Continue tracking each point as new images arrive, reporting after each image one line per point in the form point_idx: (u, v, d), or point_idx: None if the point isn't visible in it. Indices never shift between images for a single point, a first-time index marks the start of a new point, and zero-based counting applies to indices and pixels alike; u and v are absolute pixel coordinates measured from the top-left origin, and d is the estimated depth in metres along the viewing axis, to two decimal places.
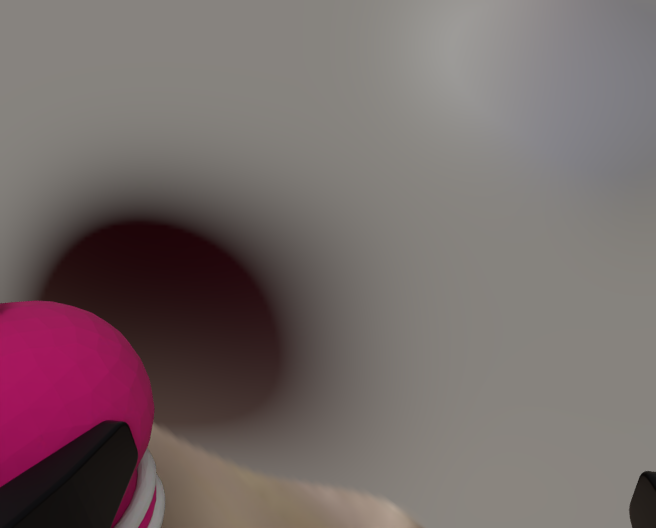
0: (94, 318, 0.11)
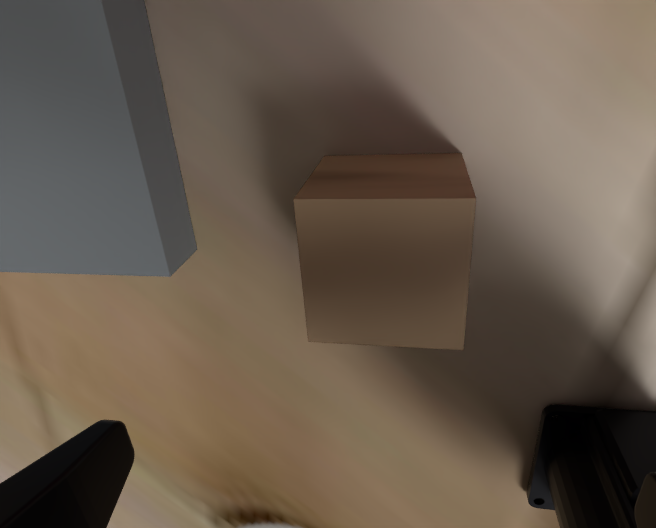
0: None
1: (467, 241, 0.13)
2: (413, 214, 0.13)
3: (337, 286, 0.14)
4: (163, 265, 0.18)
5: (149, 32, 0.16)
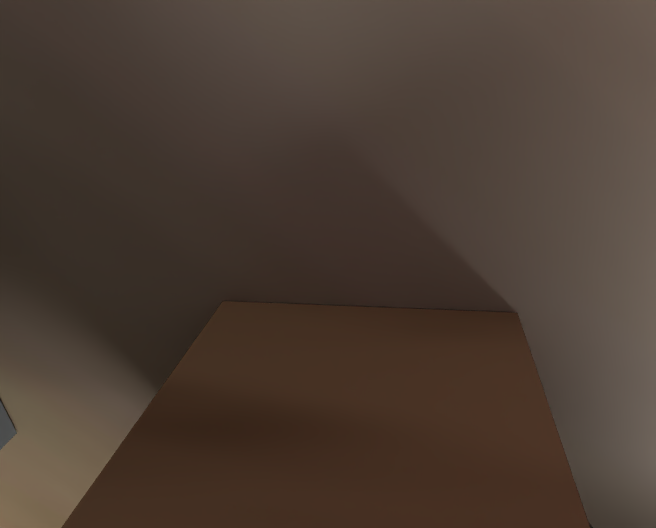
0: None
1: None
2: None
3: None
4: None
5: None
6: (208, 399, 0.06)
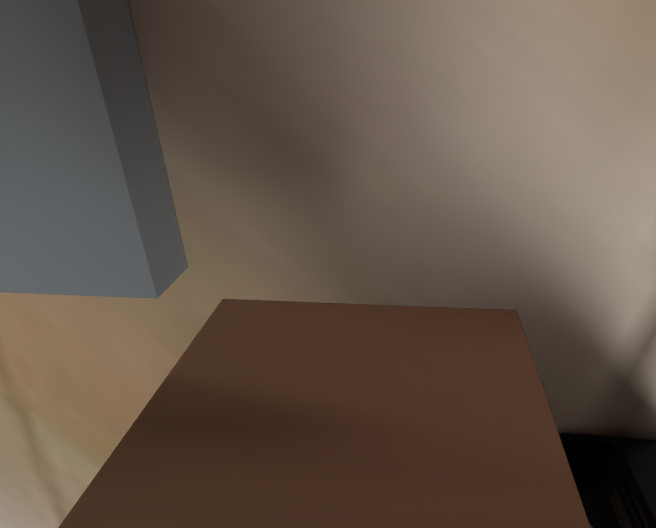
0: None
1: None
2: None
3: None
4: (150, 286, 0.17)
5: (135, 38, 0.15)
6: (208, 396, 0.06)
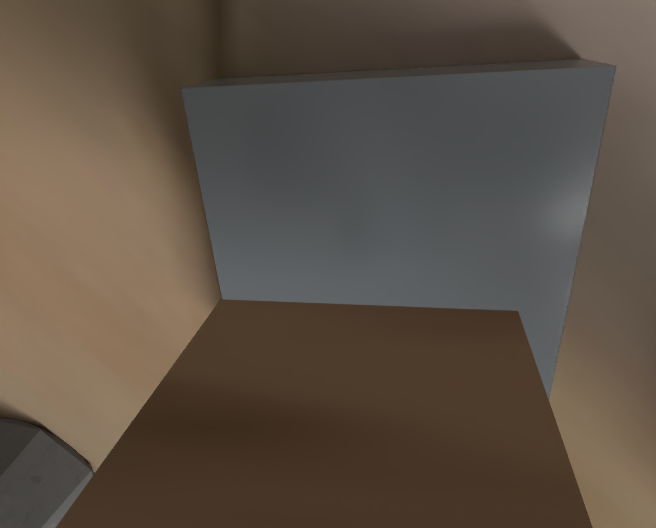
0: None
1: None
2: None
3: None
4: None
5: None
6: (205, 398, 0.06)
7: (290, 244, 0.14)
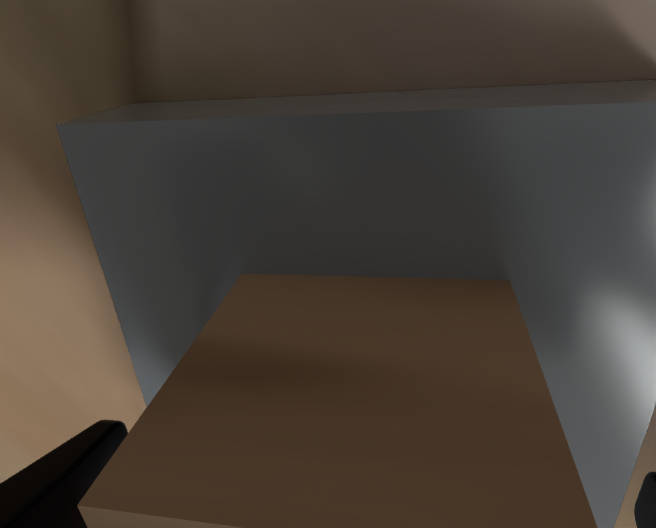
0: None
1: None
2: None
3: None
4: None
5: None
6: (235, 351, 0.07)
7: None
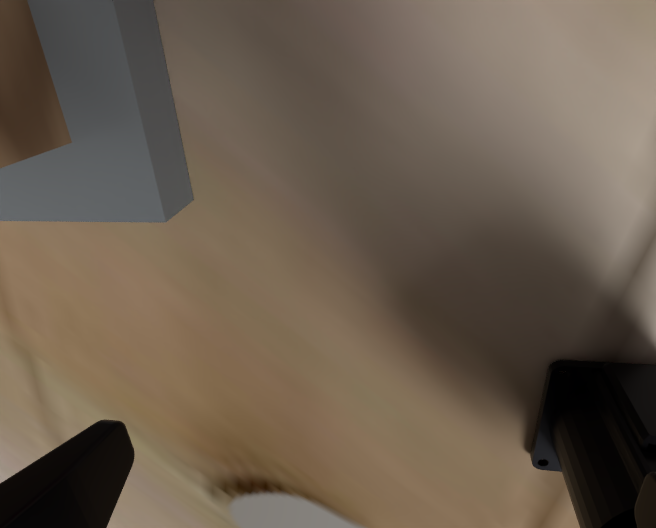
0: None
1: None
2: None
3: None
4: (158, 210, 0.17)
5: None
6: None
7: None
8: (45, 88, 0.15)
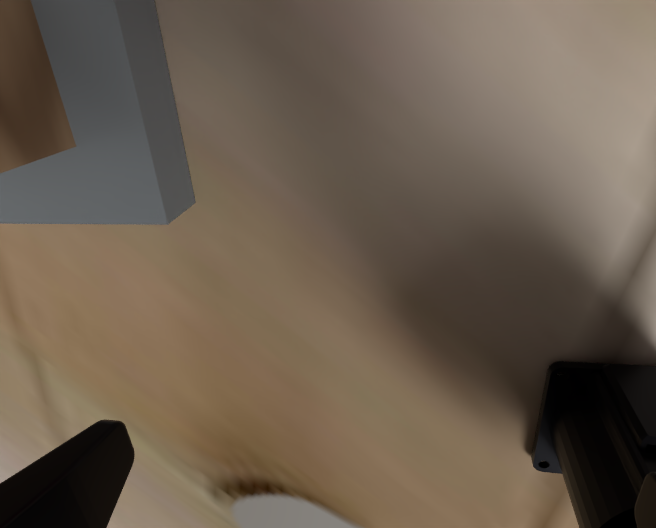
0: None
1: None
2: None
3: None
4: (160, 212, 0.17)
5: None
6: None
7: None
8: (50, 93, 0.16)
